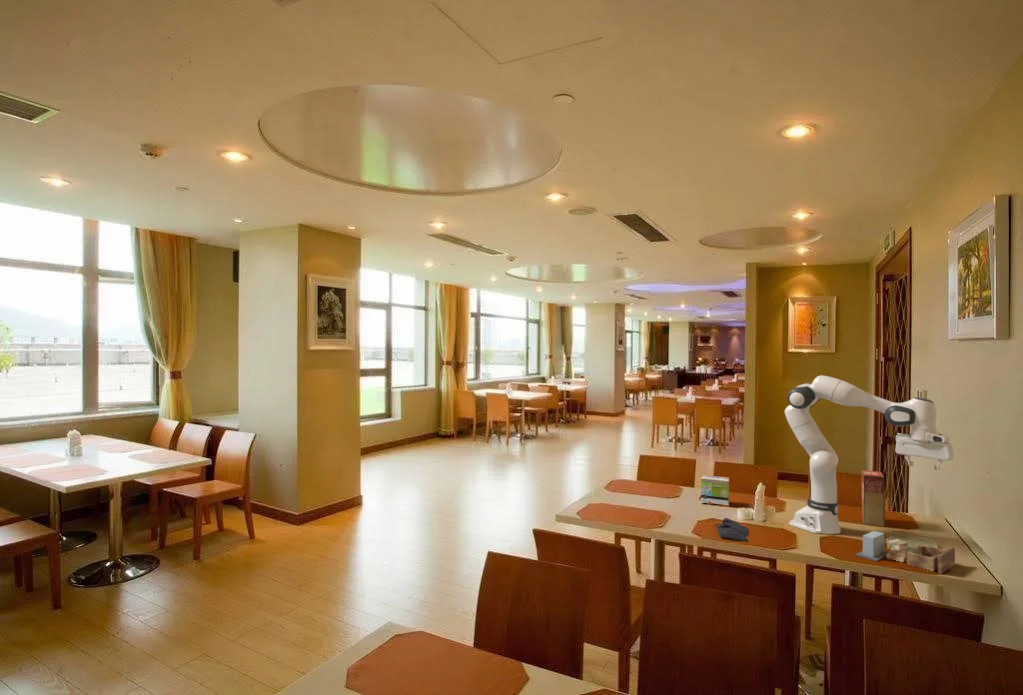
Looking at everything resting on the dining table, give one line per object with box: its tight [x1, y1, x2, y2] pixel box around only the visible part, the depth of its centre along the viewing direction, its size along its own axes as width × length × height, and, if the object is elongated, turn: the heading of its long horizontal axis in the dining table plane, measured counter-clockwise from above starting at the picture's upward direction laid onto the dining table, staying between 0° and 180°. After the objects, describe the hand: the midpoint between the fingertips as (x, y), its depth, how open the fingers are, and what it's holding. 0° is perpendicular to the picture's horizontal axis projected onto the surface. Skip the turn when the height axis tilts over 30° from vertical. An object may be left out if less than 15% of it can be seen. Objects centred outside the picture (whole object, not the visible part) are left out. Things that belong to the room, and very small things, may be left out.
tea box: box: [700, 474, 730, 506], centre depth 312 cm, size 15×10×15 cm, turn 68°
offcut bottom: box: [885, 551, 907, 563], centre depth 231 cm, size 6×10×2 cm, turn 130°
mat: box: [855, 550, 890, 562], centre depth 234 cm, size 8×15×1 cm, turn 126°
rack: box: [906, 544, 956, 575], centre depth 223 cm, size 12×16×7 cm
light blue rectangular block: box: [862, 530, 885, 557], centre depth 234 cm, size 4×11×8 cm, turn 126°
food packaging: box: [860, 470, 886, 528], centre depth 279 cm, size 13×9×25 cm
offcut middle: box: [889, 548, 906, 558], centre depth 231 cm, size 5×8×2 cm, turn 141°
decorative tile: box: [885, 532, 939, 554], centre depth 243 cm, size 19×20×4 cm
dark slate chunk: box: [716, 517, 749, 542], centre depth 261 cm, size 15×22×5 cm
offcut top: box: [889, 539, 908, 550], centre depth 231 cm, size 4×6×2 cm, turn 115°
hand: (923, 467), depth 236 cm, fingers open, 8 cm apart
